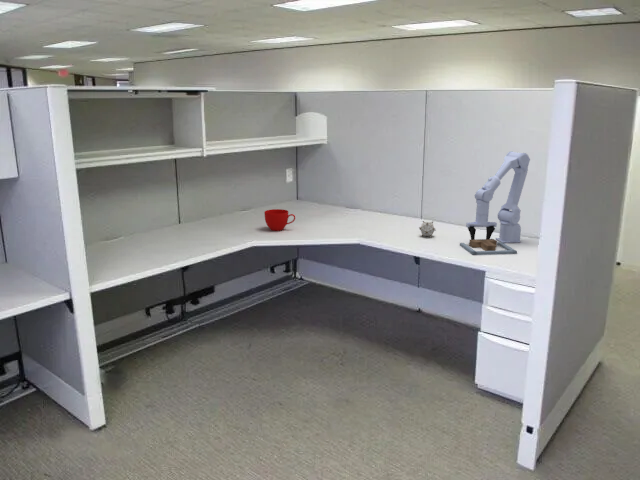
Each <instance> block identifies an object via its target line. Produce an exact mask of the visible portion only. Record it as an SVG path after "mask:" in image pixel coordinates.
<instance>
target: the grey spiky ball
mask: <svg viewBox="0 0 640 480" xmlns="http://www.w3.org/2000/svg"><path fill="white" fill-rule="evenodd" d="M433 223H434V221H431V222H428V221H424V220H422V224H421V226H419V227H418V228H419V230H420V232H421V237H423V236H424V237H425V236H426V237H431V238H433V235H434V232H435V231H437V230H436V228H435V227H434V224H433Z"/></svg>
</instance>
